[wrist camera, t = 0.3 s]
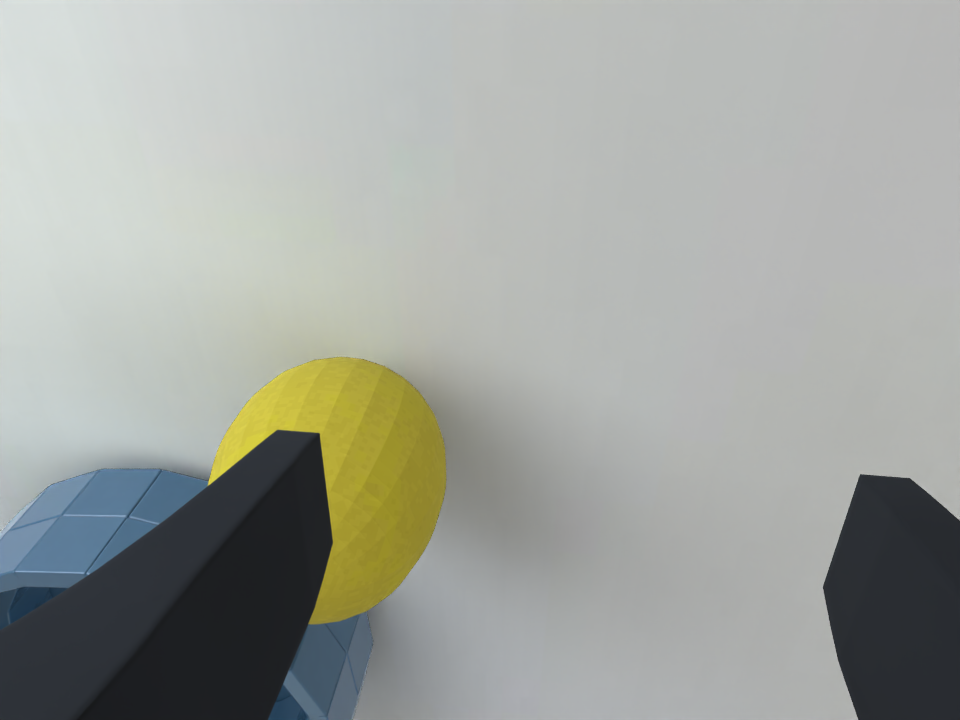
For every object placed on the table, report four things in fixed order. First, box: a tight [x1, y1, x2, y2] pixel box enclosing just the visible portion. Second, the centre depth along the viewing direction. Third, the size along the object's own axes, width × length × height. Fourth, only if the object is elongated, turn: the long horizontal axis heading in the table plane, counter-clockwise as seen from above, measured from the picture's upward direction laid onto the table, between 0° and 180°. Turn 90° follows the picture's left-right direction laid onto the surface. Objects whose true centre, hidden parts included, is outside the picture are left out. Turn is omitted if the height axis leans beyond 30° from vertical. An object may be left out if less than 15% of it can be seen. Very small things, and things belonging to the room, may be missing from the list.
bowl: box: [0, 469, 373, 720], centre depth 26 cm, size 13×13×5 cm
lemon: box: [208, 357, 446, 624], centre depth 19 cm, size 6×6×8 cm
